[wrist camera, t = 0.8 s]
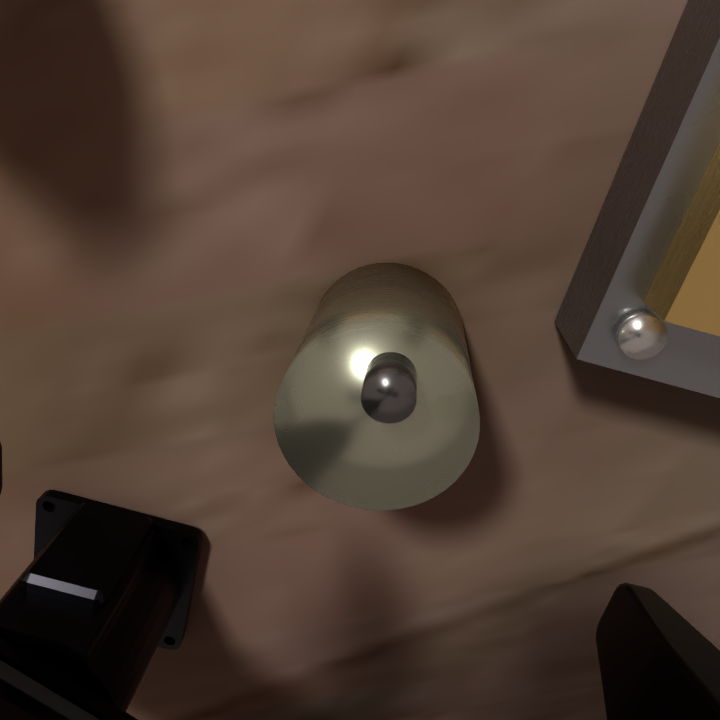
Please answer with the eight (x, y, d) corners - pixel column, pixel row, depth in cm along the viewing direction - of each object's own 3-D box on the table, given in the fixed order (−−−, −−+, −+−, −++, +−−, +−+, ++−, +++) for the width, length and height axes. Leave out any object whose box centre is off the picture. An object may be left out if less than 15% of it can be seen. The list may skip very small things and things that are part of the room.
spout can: (437, 419, 21) (445, 563, 15) (299, 381, 21) (245, 510, 15) (484, 286, 19) (517, 385, 13) (331, 244, 19) (286, 322, 13)
